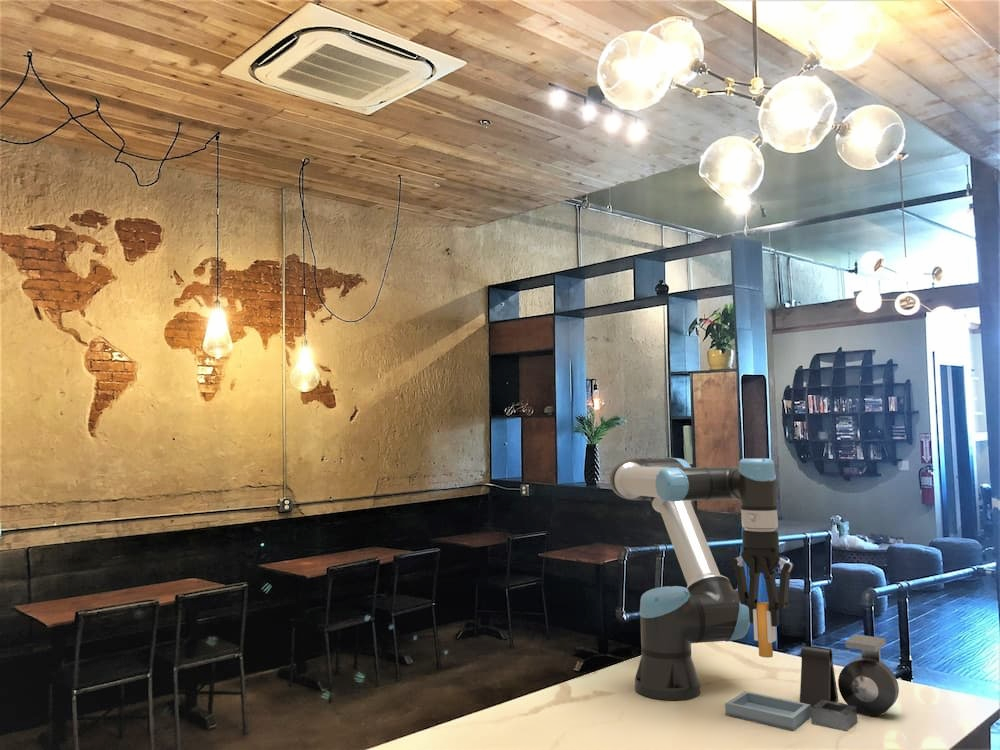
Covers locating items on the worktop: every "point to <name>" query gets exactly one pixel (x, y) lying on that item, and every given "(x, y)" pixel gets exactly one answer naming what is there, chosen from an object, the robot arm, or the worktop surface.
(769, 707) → the tray
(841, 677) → the caster wheel
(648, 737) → the worktop surface
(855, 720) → the pin socket
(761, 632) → the pin
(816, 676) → the phone stand
